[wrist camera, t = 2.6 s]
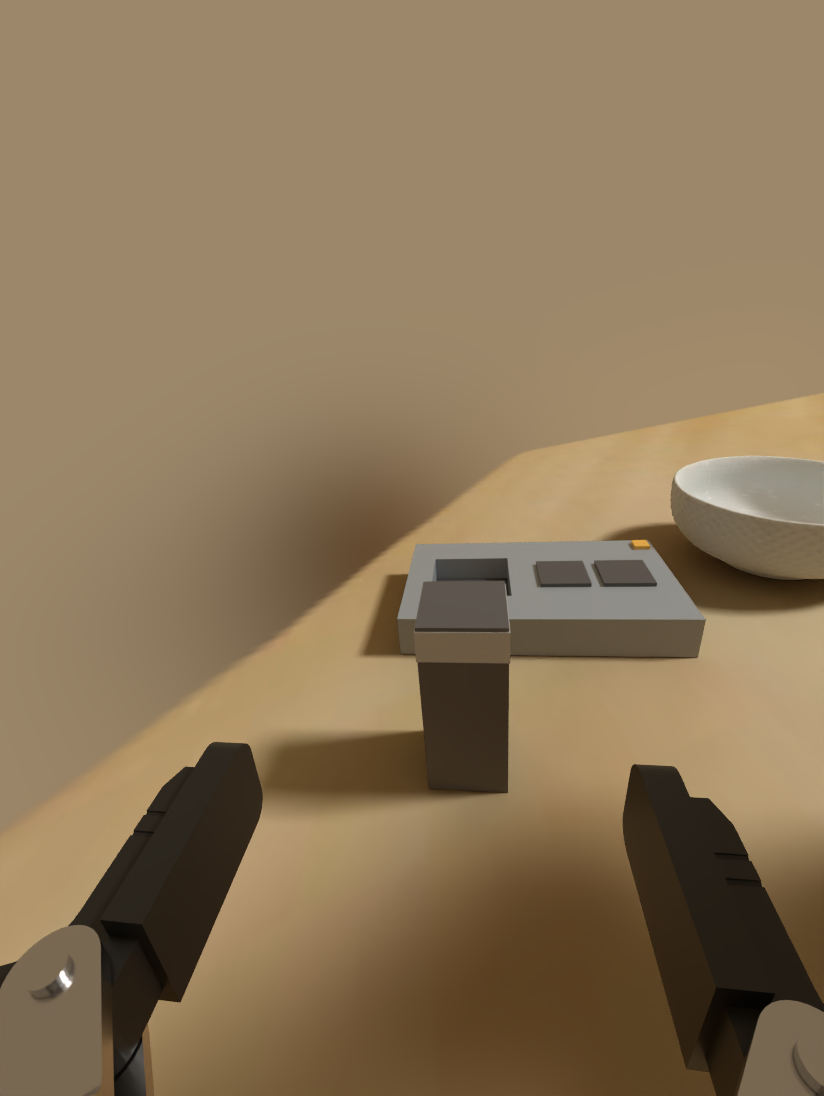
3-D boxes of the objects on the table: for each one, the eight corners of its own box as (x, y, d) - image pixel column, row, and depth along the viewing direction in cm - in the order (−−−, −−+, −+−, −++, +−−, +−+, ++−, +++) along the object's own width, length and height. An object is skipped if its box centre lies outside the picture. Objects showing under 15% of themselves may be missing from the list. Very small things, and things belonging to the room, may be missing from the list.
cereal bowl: (673, 598, 40) (687, 515, 37) (654, 518, 54) (663, 454, 51) (947, 623, 34) (990, 529, 31) (846, 527, 49) (869, 456, 45)
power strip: (644, 570, 44) (649, 536, 42) (697, 657, 33) (706, 615, 32) (418, 573, 47) (415, 541, 45) (400, 654, 36) (396, 615, 35)
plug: (504, 731, 29) (505, 580, 24) (508, 793, 25) (510, 629, 21) (434, 728, 29) (422, 581, 25) (427, 789, 26) (413, 628, 21)
